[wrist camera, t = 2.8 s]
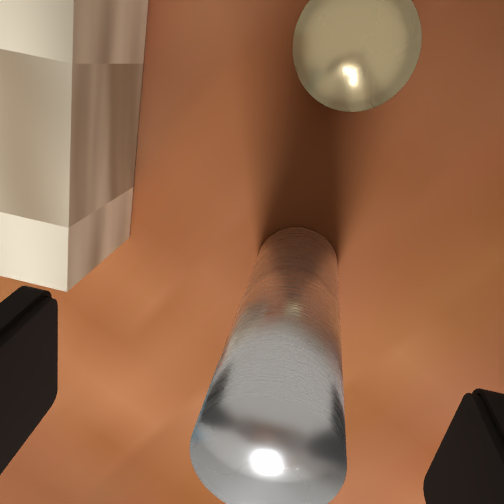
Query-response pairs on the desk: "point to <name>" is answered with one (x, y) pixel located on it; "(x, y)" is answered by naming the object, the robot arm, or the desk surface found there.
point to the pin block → (67, 134)
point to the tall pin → (279, 383)
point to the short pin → (356, 50)
